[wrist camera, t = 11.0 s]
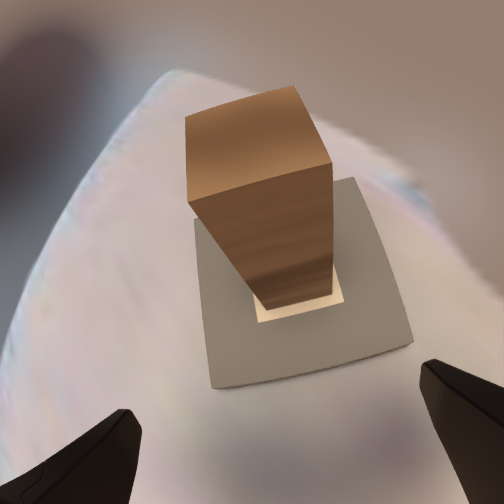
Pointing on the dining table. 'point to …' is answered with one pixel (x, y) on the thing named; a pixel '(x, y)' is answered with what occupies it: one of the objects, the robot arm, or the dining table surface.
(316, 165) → the walnut pillar
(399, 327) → the foundation slab
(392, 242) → the dining table surface
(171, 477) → the dining table surface
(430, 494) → the dining table surface
